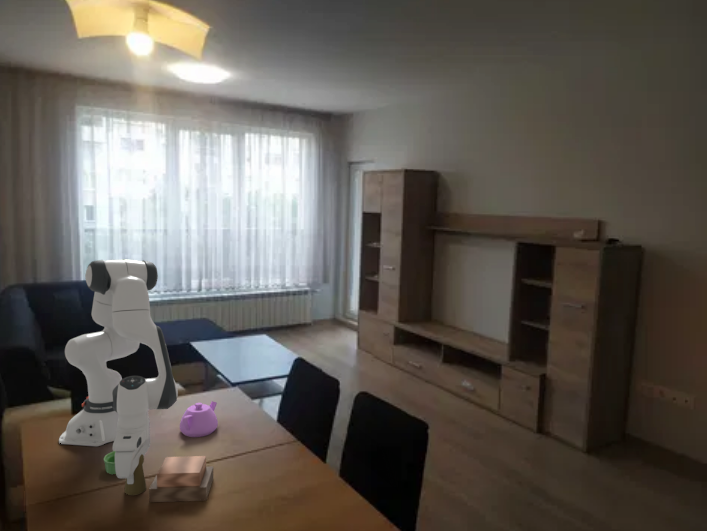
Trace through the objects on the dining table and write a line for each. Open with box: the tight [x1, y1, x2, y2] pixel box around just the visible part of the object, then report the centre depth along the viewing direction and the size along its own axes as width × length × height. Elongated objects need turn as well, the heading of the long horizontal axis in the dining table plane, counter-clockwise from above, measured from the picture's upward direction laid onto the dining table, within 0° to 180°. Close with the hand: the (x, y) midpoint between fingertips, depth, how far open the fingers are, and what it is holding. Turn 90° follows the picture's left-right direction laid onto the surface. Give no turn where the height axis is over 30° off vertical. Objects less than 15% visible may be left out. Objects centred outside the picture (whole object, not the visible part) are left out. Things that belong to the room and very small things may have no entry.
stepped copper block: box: [148, 455, 214, 503], centre depth 152 cm, size 16×12×8 cm
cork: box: [124, 454, 147, 496], centre depth 152 cm, size 6×6×11 cm
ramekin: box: [103, 450, 116, 475], centre depth 164 cm, size 9×9×4 cm
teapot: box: [179, 400, 219, 438], centre depth 194 cm, size 14×20×11 cm
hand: (135, 476), depth 152 cm, fingers open, 6 cm apart
